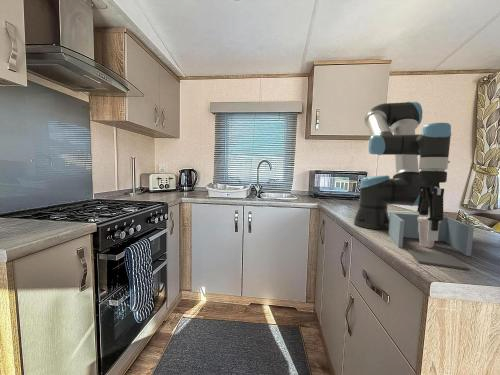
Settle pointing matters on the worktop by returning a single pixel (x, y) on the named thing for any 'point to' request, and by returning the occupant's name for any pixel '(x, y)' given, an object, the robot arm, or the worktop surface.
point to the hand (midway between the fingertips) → (427, 236)
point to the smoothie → (424, 232)
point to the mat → (437, 259)
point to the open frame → (449, 232)
